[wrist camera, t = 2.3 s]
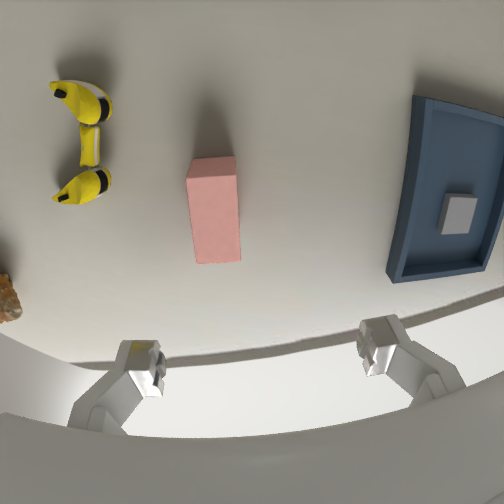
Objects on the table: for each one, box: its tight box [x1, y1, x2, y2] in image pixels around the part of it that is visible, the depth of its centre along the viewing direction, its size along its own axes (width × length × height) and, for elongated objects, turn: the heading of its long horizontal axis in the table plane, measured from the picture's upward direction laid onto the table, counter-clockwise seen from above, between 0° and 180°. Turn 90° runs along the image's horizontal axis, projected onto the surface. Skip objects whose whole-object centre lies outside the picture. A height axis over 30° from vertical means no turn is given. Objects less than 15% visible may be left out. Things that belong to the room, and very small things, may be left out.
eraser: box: [186, 156, 241, 264], centre depth 23 cm, size 3×6×5 cm, turn 2°
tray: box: [386, 95, 504, 284], centre depth 25 cm, size 14×18×2 cm
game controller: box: [49, 80, 113, 205], centre depth 20 cm, size 10×6×4 cm, turn 171°
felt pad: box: [437, 193, 478, 234], centre depth 26 cm, size 4×4×1 cm
